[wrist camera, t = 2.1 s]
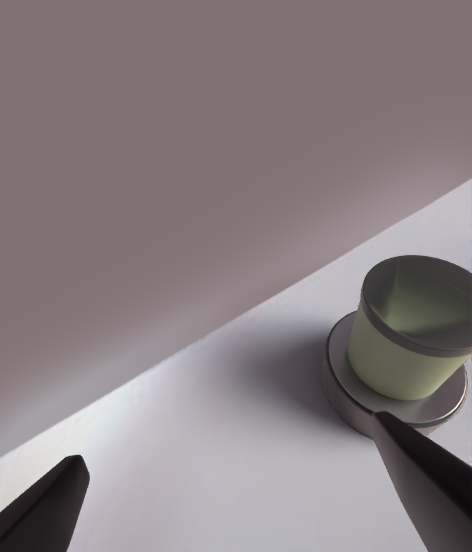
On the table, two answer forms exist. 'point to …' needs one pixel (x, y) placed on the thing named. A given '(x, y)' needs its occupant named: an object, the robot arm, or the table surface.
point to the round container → (364, 400)
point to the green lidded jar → (411, 326)
